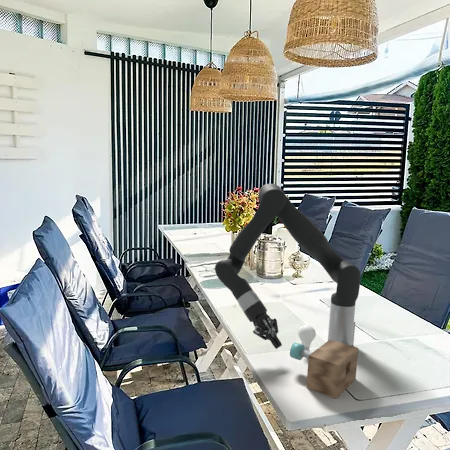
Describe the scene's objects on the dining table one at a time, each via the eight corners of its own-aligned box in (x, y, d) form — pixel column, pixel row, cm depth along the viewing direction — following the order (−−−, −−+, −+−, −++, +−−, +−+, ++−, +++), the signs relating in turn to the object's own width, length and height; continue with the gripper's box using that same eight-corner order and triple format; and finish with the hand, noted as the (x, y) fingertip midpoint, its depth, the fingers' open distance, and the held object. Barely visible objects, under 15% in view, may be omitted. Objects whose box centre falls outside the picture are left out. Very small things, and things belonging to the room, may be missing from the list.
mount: (301, 385, 143) (303, 353, 141) (322, 367, 155) (325, 338, 153) (336, 398, 136) (338, 365, 134) (355, 379, 148) (358, 347, 146)
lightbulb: (312, 349, 169) (314, 322, 167) (315, 357, 163) (318, 328, 161) (295, 349, 169) (297, 321, 167) (298, 357, 163) (300, 328, 161)
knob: (289, 359, 151) (290, 345, 150) (296, 354, 155) (297, 340, 154) (330, 374, 142) (331, 358, 141) (337, 368, 146) (338, 353, 145)
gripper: (247, 305, 154) (276, 348, 149) (268, 295, 164) (295, 336, 159) (234, 315, 158) (262, 358, 153) (255, 306, 169) (282, 345, 163)
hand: (279, 347), depth 156 cm, fingers closed
